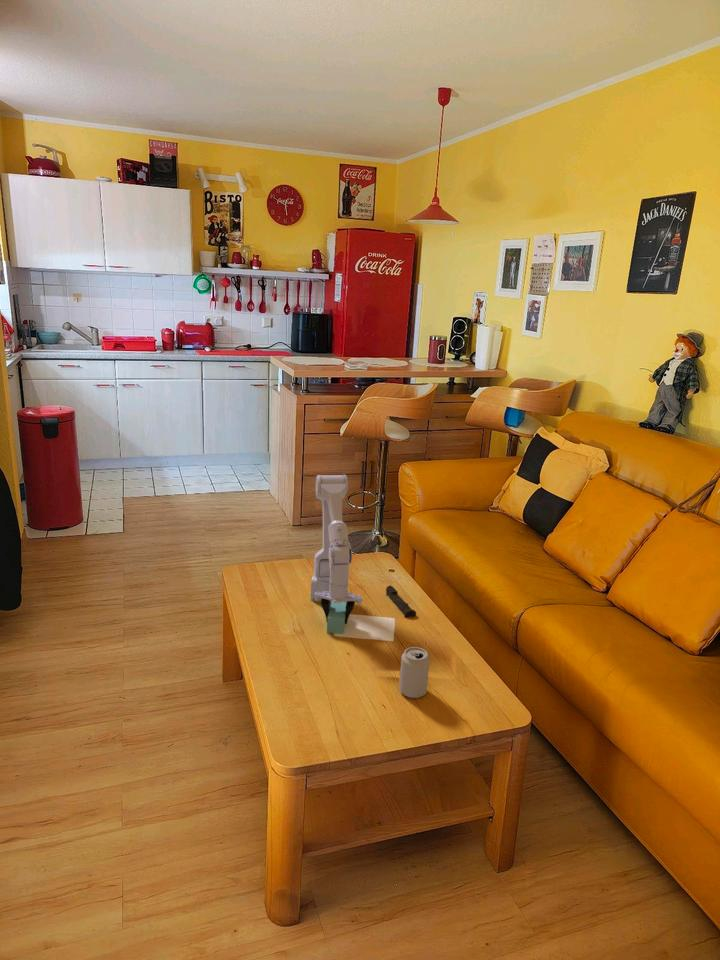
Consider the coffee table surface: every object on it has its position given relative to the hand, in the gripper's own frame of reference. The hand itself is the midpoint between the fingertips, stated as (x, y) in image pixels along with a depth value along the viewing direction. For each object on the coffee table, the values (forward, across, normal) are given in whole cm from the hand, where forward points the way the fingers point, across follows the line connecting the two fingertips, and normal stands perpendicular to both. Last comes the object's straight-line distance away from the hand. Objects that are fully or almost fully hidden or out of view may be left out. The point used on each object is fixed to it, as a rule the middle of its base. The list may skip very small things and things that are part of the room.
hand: (337, 621), depth 205 cm
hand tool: (+3, +18, +17) cm, 25 cm away
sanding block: (+1, 0, 0) cm, 1 cm away
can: (+3, +24, -29) cm, 38 cm away
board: (+2, +9, 0) cm, 9 cm away
